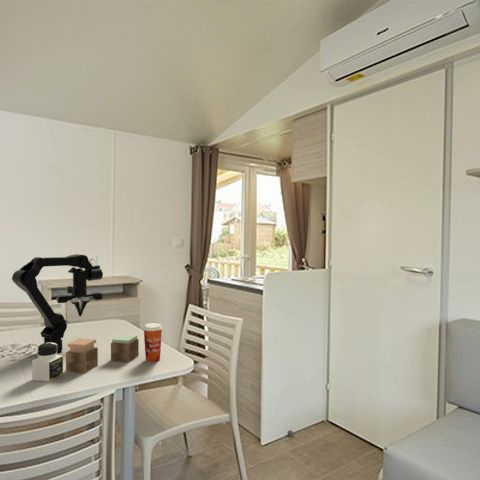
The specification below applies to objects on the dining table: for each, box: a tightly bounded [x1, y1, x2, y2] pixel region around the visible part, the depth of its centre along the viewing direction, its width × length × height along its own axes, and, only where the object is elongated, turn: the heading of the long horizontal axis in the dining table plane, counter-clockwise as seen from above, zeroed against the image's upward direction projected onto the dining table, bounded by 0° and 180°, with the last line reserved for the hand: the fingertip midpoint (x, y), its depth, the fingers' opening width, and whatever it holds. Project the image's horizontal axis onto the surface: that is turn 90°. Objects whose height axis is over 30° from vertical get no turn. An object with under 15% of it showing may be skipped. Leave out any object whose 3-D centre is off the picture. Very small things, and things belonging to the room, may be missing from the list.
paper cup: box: [142, 322, 163, 363], centre depth 154 cm, size 8×8×14 cm
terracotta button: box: [67, 337, 97, 353], centre depth 144 cm, size 7×7×7 cm
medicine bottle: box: [31, 342, 64, 383], centre depth 135 cm, size 7×7×12 cm
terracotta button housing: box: [65, 346, 99, 374], centre depth 144 cm, size 8×8×7 cm
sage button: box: [111, 334, 138, 344], centre depth 155 cm, size 7×7×7 cm
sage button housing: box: [110, 338, 140, 363], centre depth 156 cm, size 8×8×7 cm
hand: (80, 316), depth 173 cm, fingers closed
